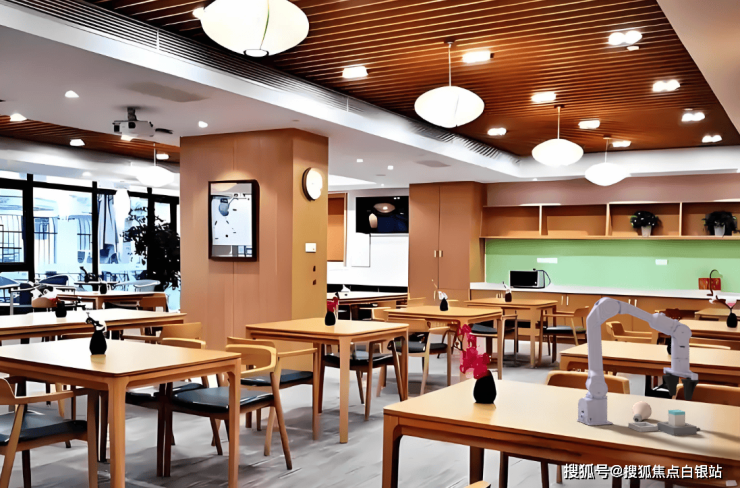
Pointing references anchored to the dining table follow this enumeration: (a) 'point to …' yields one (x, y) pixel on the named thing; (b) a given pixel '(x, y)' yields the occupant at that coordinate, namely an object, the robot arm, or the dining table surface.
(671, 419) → the plug
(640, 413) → the light bulb
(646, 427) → the tray
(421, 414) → the dining table surface
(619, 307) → the robot arm
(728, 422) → the dining table surface
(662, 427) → the panel
